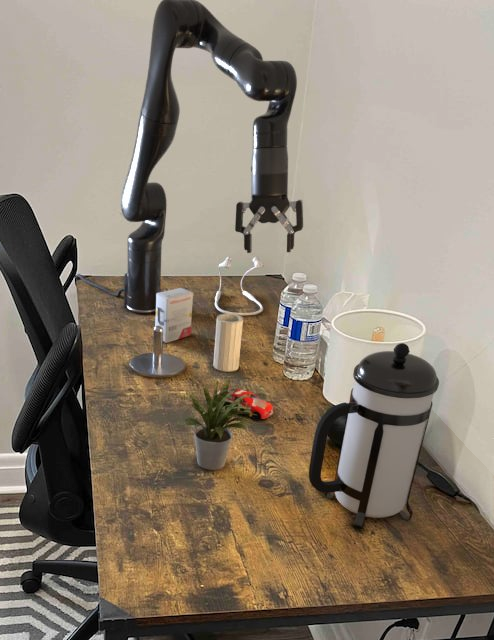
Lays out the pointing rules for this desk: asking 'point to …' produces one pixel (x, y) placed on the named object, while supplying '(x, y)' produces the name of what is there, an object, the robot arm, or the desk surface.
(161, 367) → the stand
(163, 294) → the ink box
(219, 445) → the house plant
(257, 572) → the desk surface
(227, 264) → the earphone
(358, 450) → the coffee press
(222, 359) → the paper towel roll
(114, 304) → the desk surface
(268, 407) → the race car
